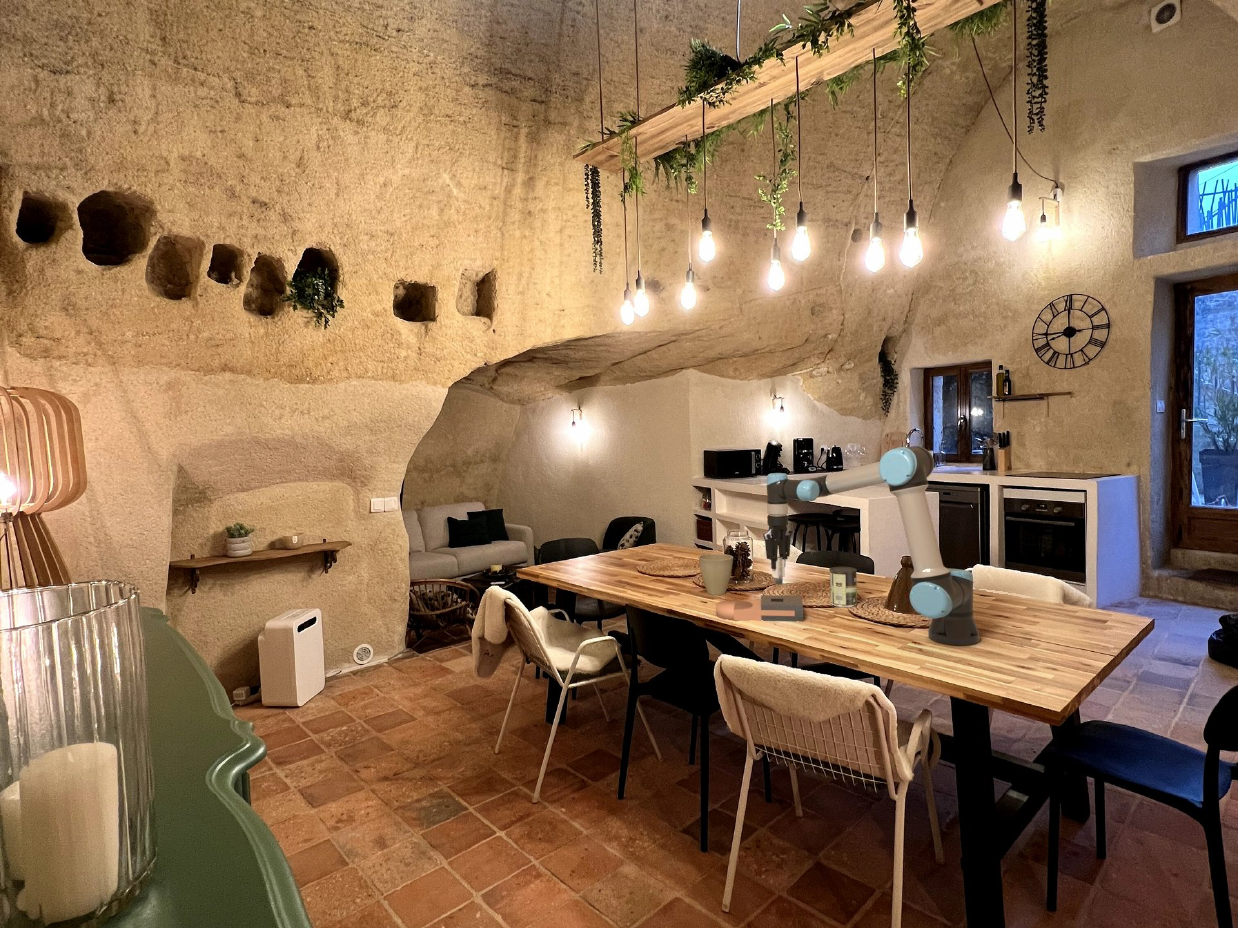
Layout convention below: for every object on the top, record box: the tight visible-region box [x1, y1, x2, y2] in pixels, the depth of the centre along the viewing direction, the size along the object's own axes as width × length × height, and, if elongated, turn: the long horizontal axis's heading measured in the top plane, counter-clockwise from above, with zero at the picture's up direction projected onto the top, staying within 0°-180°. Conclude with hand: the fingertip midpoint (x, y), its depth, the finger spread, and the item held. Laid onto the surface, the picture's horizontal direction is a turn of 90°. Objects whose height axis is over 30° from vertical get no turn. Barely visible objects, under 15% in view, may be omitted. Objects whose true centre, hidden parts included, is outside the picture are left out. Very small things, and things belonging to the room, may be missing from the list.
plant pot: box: [698, 553, 734, 596], centre depth 299 cm, size 15×15×16 cm
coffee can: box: [829, 566, 858, 608], centre depth 274 cm, size 10×10×14 cm
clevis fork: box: [760, 594, 804, 623], centre depth 261 cm, size 14×15×6 cm
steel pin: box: [773, 556, 784, 586], centre depth 259 cm, size 3×3×10 cm
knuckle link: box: [715, 599, 795, 622], centre depth 263 cm, size 14×29×4 cm, turn 78°
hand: (778, 576), depth 259 cm, fingers closed on steel pin, 2 cm apart
